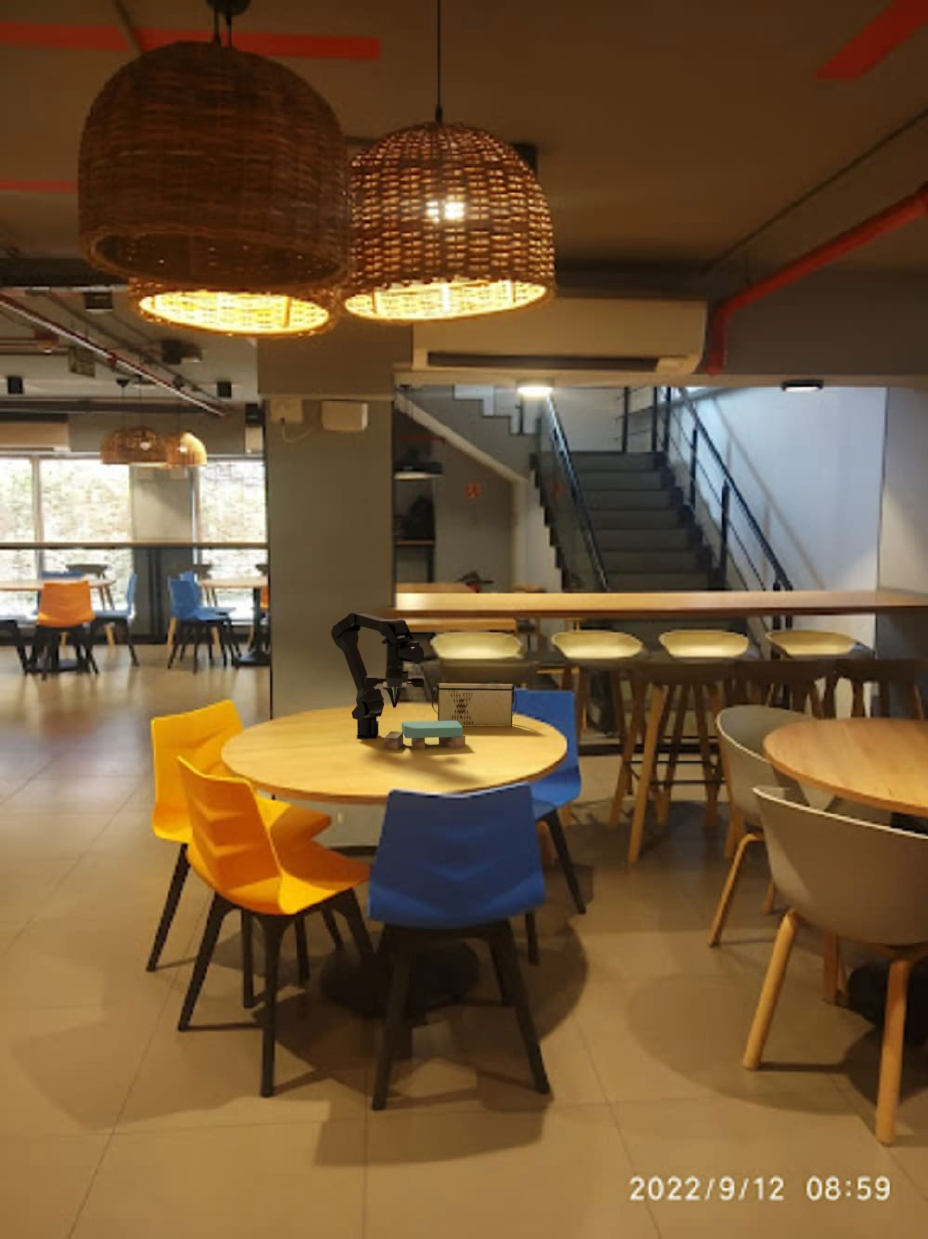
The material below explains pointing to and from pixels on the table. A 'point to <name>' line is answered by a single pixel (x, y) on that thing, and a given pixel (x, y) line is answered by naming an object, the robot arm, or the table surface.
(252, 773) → the table surface
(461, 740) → the block
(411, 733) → the slab
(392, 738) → the block
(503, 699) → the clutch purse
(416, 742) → the block
